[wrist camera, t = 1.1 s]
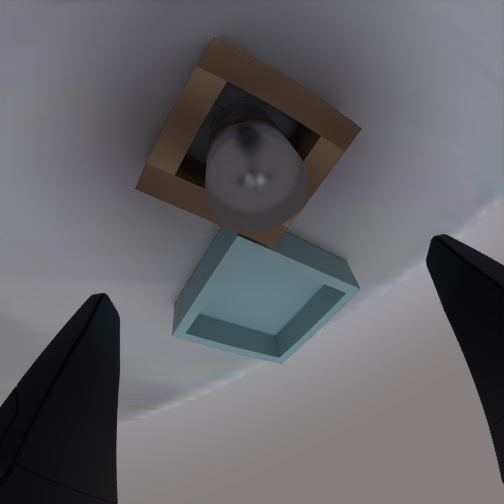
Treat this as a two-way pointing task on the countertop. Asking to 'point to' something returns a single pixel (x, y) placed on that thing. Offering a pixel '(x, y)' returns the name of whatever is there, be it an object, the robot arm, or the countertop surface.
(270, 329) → the tray
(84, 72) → the countertop surface
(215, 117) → the translucent grey cylinder
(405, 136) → the countertop surface
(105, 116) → the countertop surface
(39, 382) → the robot arm
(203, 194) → the block
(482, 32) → the countertop surface
